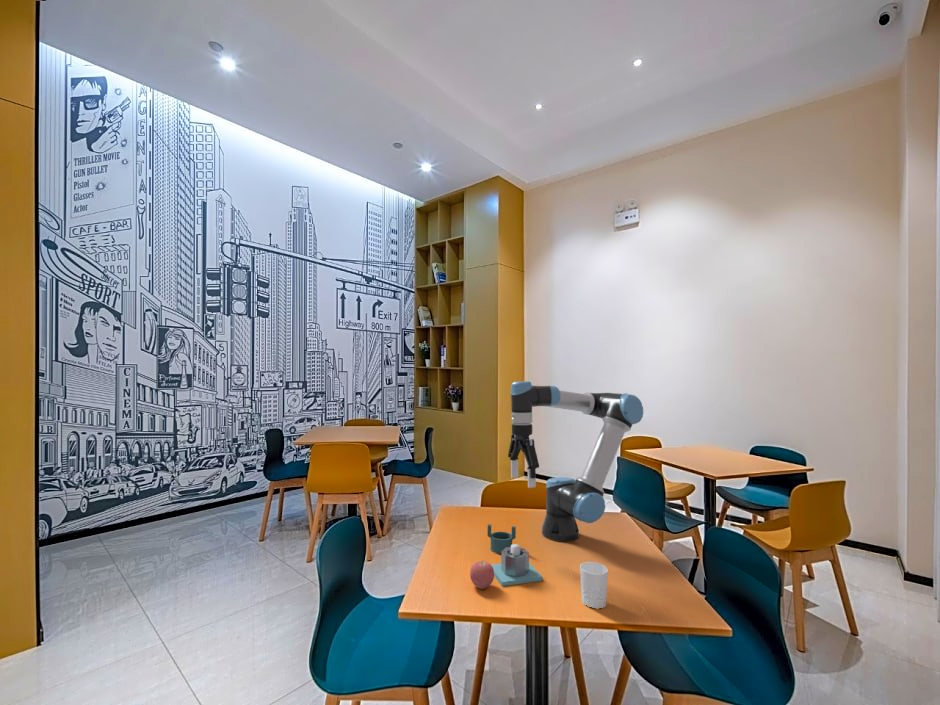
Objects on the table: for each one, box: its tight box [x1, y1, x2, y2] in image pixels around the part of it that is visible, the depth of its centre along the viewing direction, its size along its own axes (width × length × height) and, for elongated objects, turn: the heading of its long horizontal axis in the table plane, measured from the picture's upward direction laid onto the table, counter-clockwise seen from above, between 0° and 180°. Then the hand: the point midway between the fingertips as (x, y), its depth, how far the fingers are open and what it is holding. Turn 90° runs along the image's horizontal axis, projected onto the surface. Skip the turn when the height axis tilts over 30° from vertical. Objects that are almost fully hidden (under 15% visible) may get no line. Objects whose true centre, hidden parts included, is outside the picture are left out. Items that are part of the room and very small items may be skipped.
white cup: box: [579, 561, 609, 609], centre depth 120 cm, size 8×8×10 cm
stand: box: [491, 543, 544, 587], centre depth 136 cm, size 14×12×9 cm
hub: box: [500, 547, 530, 577], centre depth 136 cm, size 8×8×6 cm
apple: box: [469, 560, 495, 589], centre depth 128 cm, size 7×7×8 cm
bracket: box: [487, 524, 517, 555], centre depth 156 cm, size 9×9×9 cm
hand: (523, 482), depth 149 cm, fingers open, 13 cm apart
